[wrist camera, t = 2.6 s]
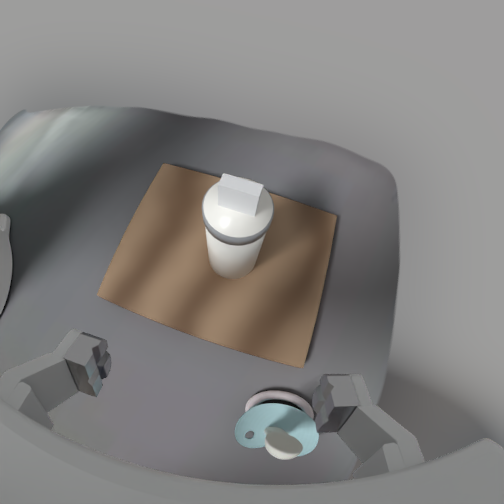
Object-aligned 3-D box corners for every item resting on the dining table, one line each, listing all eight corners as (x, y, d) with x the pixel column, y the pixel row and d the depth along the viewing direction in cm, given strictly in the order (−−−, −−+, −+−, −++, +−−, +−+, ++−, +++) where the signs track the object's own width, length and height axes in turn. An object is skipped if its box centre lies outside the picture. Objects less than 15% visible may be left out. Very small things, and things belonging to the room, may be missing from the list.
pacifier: (248, 380, 23) (228, 438, 20) (257, 385, 17) (231, 460, 15) (321, 399, 23) (302, 454, 20) (350, 407, 17) (326, 476, 14)
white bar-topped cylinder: (200, 270, 25) (186, 206, 14) (217, 227, 26) (217, 146, 16) (248, 286, 25) (269, 231, 14) (263, 242, 26) (288, 167, 16)
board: (101, 297, 24) (96, 295, 23) (165, 169, 30) (163, 163, 29) (299, 367, 23) (303, 368, 22) (332, 220, 29) (336, 215, 28)
